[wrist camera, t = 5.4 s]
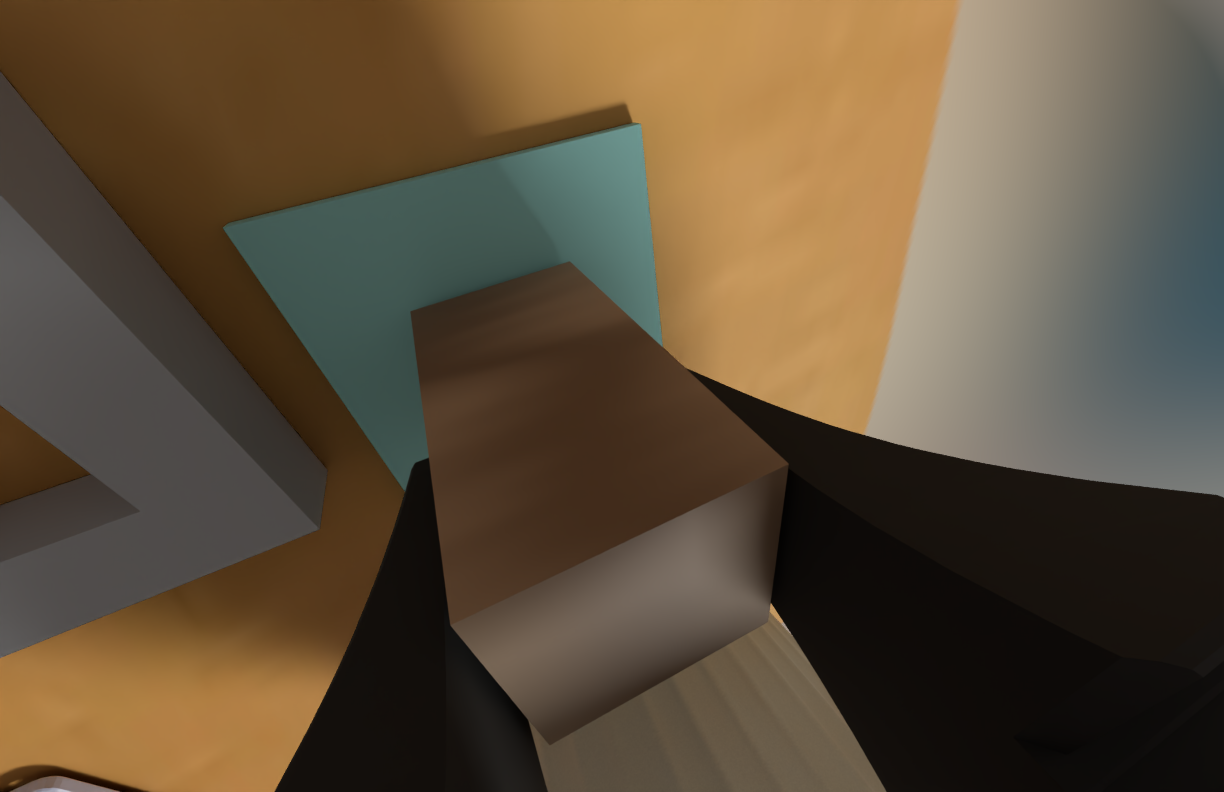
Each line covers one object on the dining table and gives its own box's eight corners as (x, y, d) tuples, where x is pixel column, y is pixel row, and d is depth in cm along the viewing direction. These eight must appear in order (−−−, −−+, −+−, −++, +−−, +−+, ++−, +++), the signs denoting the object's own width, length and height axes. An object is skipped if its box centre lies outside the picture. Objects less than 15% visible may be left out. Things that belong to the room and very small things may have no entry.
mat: (418, 503, 14) (419, 512, 14) (228, 223, 9) (223, 228, 9) (663, 403, 16) (668, 409, 16) (633, 122, 11) (641, 123, 11)
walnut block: (470, 434, 13) (549, 744, 7) (410, 311, 10) (449, 625, 4) (597, 385, 14) (767, 622, 8) (569, 261, 11) (788, 464, 5)
